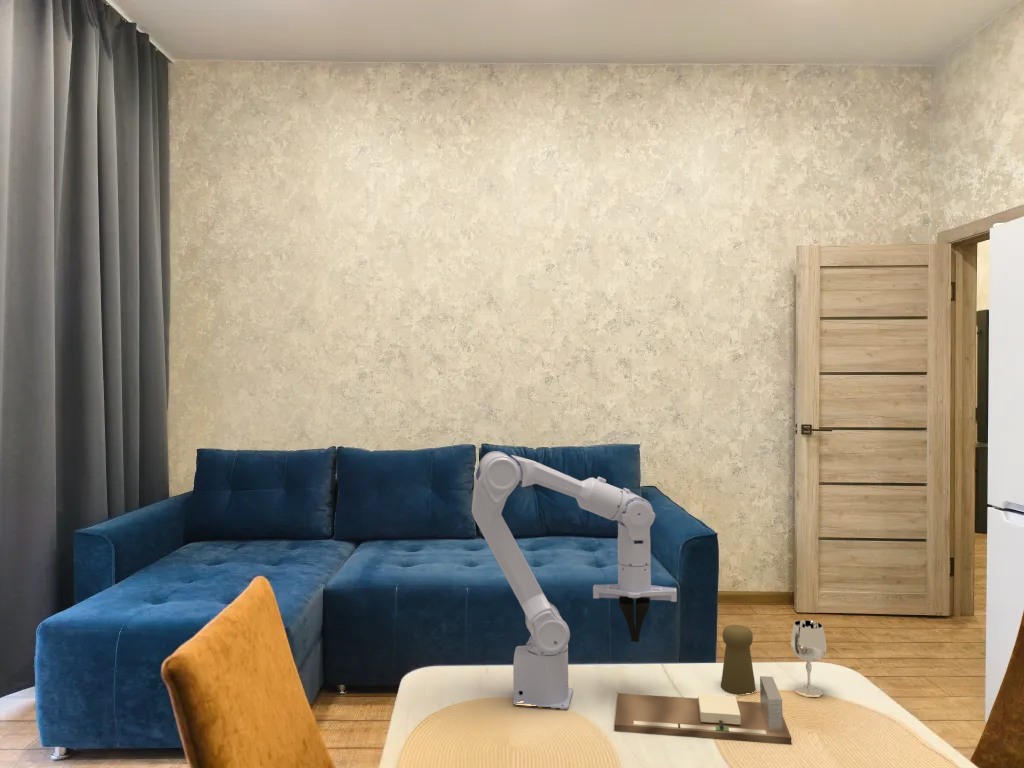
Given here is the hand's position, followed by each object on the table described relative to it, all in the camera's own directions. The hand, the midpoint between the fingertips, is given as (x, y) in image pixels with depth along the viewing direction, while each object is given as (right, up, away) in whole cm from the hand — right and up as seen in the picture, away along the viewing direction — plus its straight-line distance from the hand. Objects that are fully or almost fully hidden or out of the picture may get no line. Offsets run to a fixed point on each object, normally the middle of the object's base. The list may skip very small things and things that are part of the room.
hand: (635, 639), depth 130 cm
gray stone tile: (+20, -9, -13) cm, 25 cm away
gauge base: (+9, -9, -11) cm, 17 cm away
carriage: (+11, -8, -12) cm, 19 cm away
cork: (+19, -9, +2) cm, 21 cm away
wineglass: (+30, -9, -1) cm, 32 cm away
